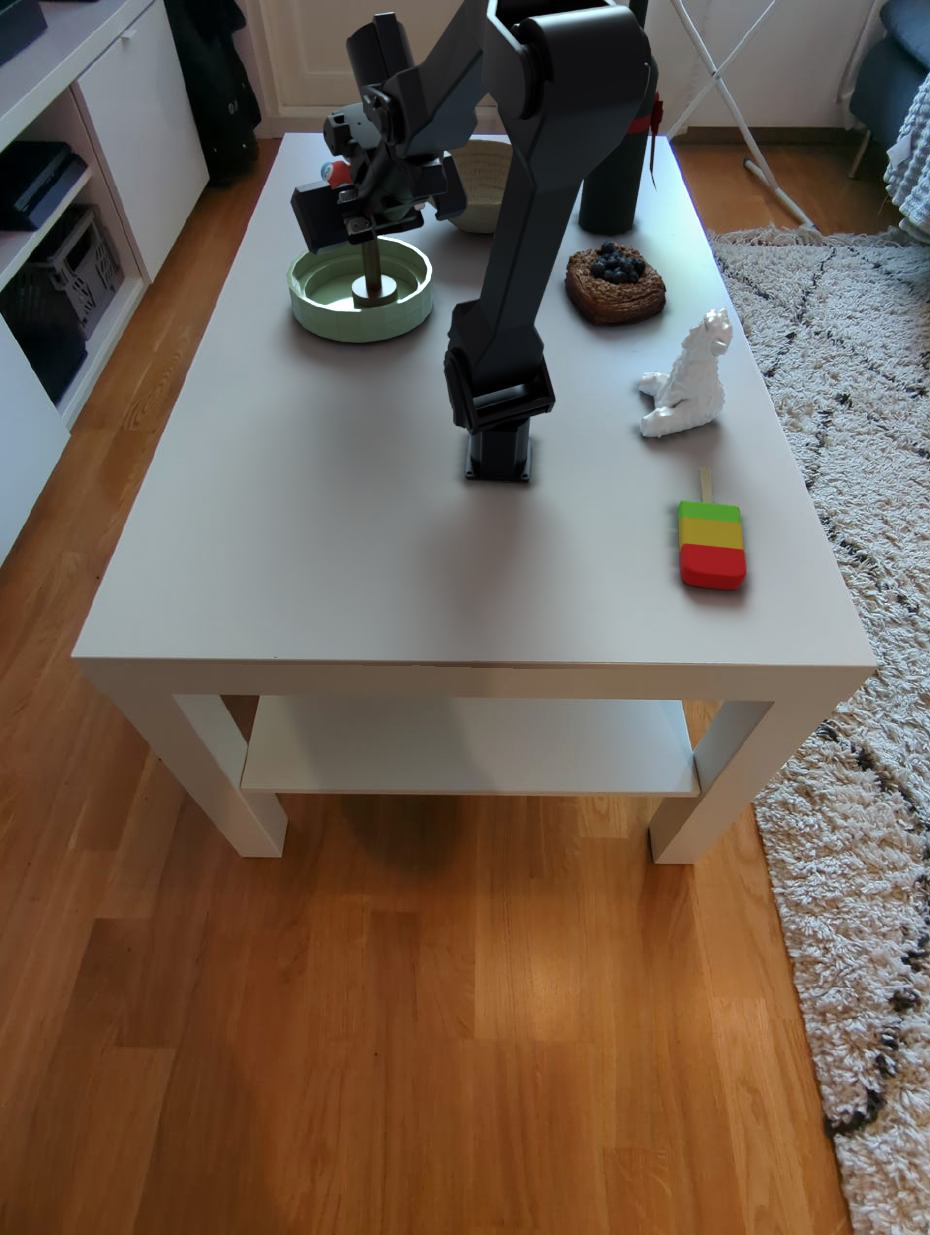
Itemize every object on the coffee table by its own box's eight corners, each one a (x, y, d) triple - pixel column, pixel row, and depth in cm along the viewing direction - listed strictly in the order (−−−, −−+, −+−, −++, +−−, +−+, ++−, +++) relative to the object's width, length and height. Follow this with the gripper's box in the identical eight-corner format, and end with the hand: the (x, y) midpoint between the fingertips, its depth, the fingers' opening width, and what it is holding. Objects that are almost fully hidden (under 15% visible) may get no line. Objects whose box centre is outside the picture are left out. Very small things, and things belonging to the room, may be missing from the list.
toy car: (317, 185, 112) (306, 110, 104) (373, 175, 114) (366, 100, 106) (335, 212, 107) (324, 135, 99) (392, 201, 109) (387, 124, 101)
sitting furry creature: (636, 383, 84) (659, 280, 74) (715, 389, 83) (748, 286, 73) (639, 438, 78) (664, 335, 68) (723, 445, 77) (760, 342, 68)
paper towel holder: (360, 311, 91) (345, 189, 79) (346, 288, 94) (330, 168, 82) (403, 301, 92) (395, 180, 81) (388, 279, 95) (378, 159, 84)
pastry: (631, 268, 98) (639, 222, 94) (674, 316, 92) (686, 270, 87) (554, 282, 96) (558, 236, 92) (592, 333, 89) (599, 286, 85)
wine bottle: (654, 235, 103) (712, -49, 79) (581, 236, 103) (617, -48, 79) (644, 208, 108) (696, -68, 84) (574, 209, 108) (606, -67, 84)
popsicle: (679, 586, 66) (684, 573, 65) (674, 471, 75) (679, 457, 74) (743, 593, 66) (749, 580, 64) (730, 477, 75) (736, 463, 73)
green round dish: (425, 350, 87) (423, 314, 84) (280, 343, 88) (272, 308, 84) (439, 272, 98) (438, 238, 94) (309, 267, 98) (303, 233, 95)
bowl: (566, 246, 102) (573, 184, 95) (440, 272, 98) (438, 209, 91) (512, 188, 112) (515, 128, 106) (395, 209, 108) (391, 149, 101)
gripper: (454, 64, 74) (410, 145, 89) (278, 100, 69) (261, 180, 83) (492, 180, 77) (443, 240, 91) (325, 223, 71) (300, 281, 86)
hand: (364, 233), depth 88 cm, fingers closed on paper towel holder
